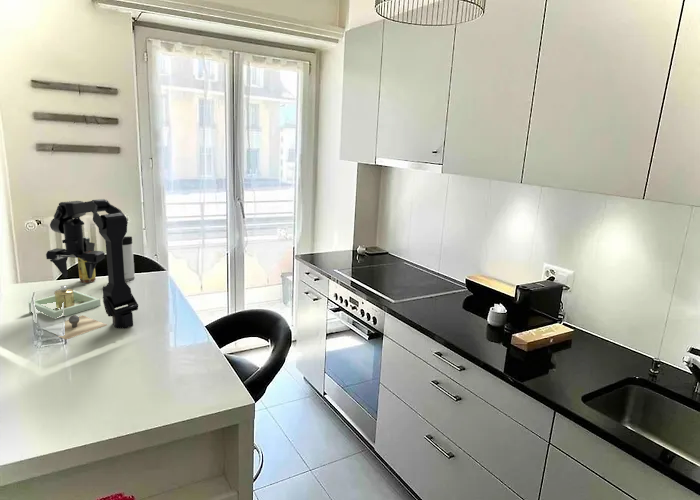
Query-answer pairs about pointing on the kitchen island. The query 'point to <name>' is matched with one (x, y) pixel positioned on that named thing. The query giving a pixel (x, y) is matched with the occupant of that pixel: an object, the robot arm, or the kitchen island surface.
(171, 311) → the kitchen island surface
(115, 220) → the robot arm
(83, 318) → the stud plate
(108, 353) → the kitchen island surface
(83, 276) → the sauce bottle
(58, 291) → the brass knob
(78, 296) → the bin
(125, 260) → the travel mug
